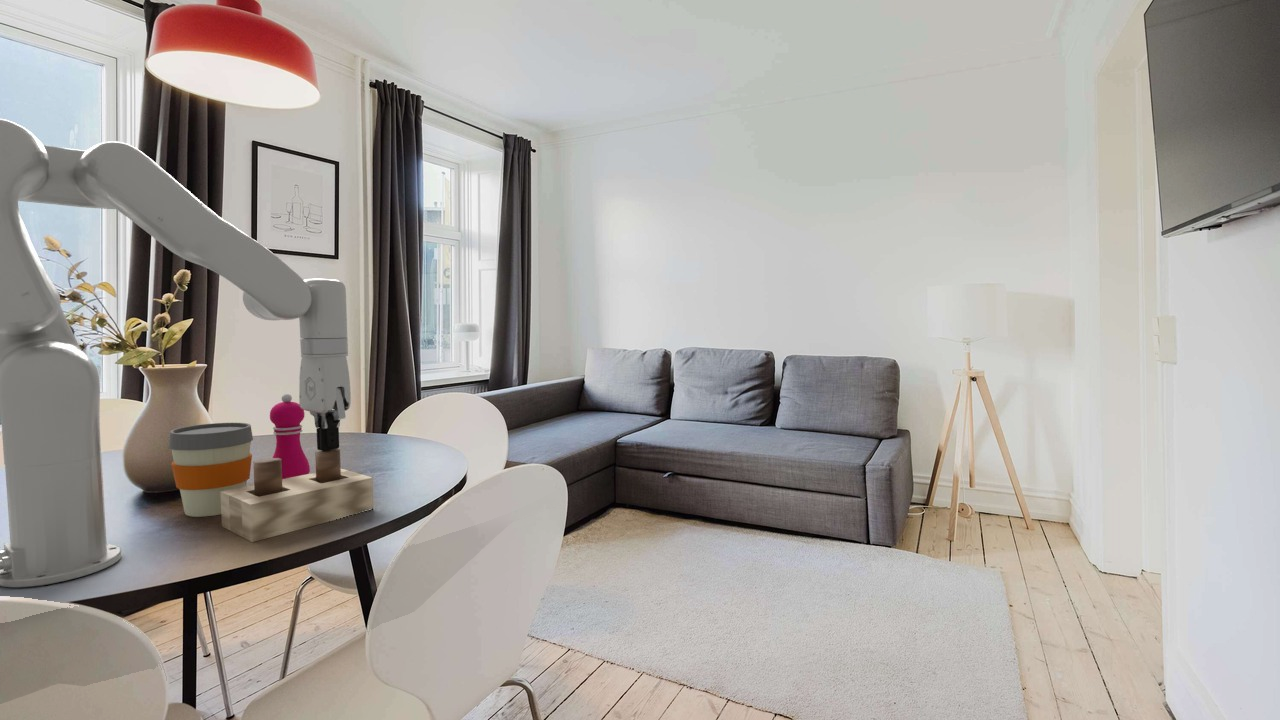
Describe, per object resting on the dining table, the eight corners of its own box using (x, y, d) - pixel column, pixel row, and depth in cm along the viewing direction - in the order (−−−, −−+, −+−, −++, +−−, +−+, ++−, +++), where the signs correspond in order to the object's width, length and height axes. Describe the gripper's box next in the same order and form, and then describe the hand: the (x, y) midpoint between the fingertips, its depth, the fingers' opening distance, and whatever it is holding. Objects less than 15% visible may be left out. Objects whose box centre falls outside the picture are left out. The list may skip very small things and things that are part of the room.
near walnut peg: (260, 500, 98) (259, 464, 97) (250, 496, 100) (249, 461, 100) (286, 495, 101) (285, 460, 101) (276, 491, 103) (275, 457, 103)
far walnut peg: (323, 487, 106) (321, 454, 105) (312, 483, 108) (311, 451, 108) (345, 482, 109) (344, 450, 109) (334, 478, 111) (333, 447, 111)
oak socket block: (252, 542, 93) (250, 504, 93) (221, 526, 100) (220, 491, 100) (373, 509, 109) (372, 477, 109) (340, 498, 116) (339, 467, 116)
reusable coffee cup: (271, 500, 115) (268, 423, 114) (216, 521, 103) (212, 435, 102) (214, 497, 117) (210, 421, 116) (153, 518, 105) (148, 433, 104)
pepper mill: (291, 498, 116) (288, 396, 115) (260, 496, 118) (256, 395, 116) (318, 488, 123) (315, 392, 122) (288, 486, 125) (285, 391, 123)
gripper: (283, 348, 108) (287, 447, 110) (323, 350, 100) (328, 458, 101) (325, 346, 114) (328, 440, 116) (366, 348, 106) (370, 450, 107)
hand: (328, 449), depth 108 cm, fingers closed
